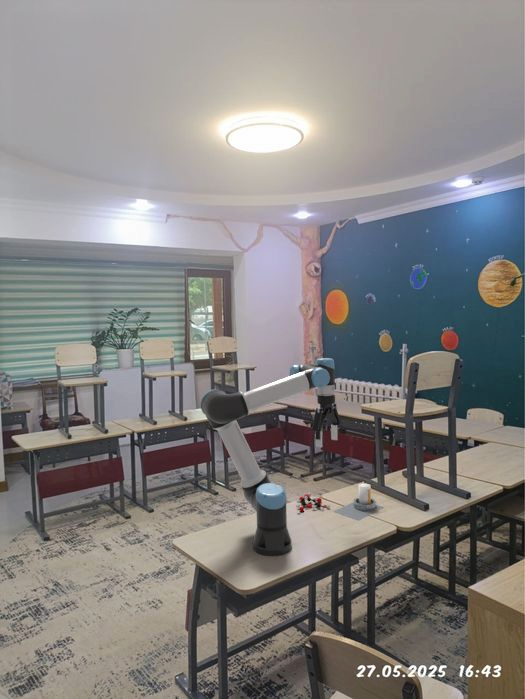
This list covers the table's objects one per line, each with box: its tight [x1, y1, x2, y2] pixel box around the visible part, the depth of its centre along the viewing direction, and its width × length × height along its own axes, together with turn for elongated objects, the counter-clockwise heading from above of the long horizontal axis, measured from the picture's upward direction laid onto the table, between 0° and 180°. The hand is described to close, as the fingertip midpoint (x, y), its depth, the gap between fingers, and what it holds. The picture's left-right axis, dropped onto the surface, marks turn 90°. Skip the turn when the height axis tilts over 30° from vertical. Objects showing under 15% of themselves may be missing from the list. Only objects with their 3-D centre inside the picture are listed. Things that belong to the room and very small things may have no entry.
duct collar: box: [352, 497, 377, 511], centre depth 226 cm, size 10×10×2 cm
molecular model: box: [296, 492, 331, 513], centre depth 229 cm, size 10×12×15 cm
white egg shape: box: [358, 483, 372, 505], centre depth 225 cm, size 6×6×10 cm
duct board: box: [332, 502, 385, 521], centre depth 223 cm, size 20×14×1 cm
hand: (326, 443), depth 211 cm, fingers open, 13 cm apart
